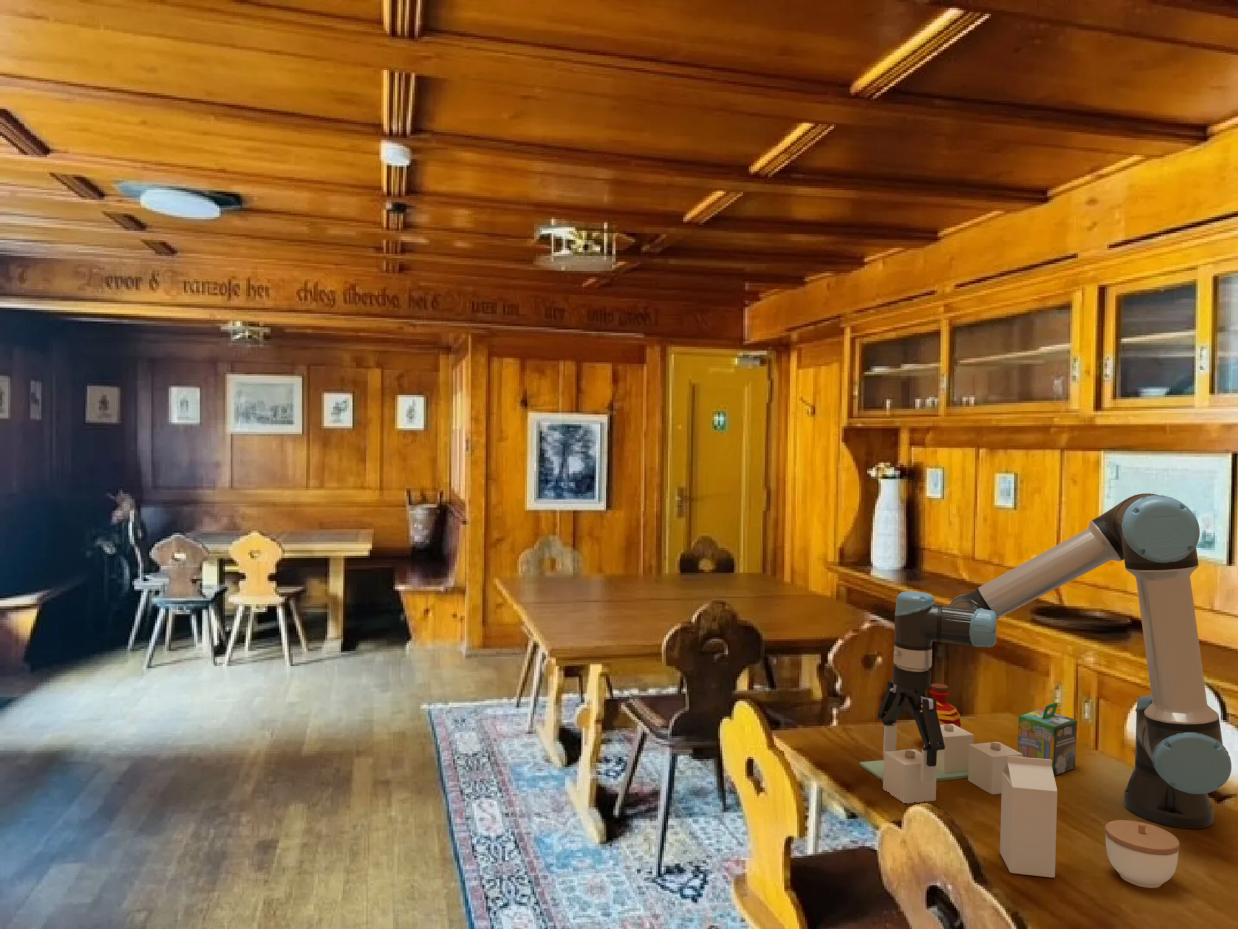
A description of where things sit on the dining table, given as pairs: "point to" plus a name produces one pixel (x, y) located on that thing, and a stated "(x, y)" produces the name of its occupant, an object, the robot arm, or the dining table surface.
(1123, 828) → the lidded jar
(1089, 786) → the dining table surface
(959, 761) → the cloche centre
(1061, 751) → the chalk box
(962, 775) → the felt mat
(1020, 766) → the milk carton
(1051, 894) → the dining table surface
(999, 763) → the cloche right
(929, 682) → the robot arm
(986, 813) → the dining table surface
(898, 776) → the cloche left
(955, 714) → the potion bottle
